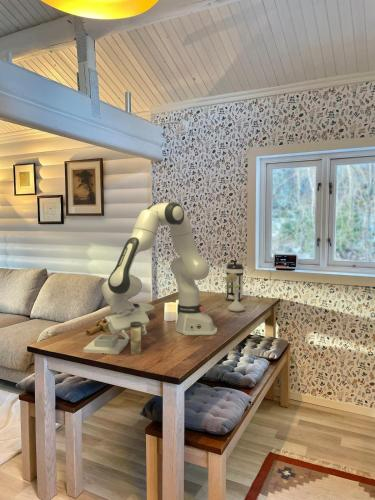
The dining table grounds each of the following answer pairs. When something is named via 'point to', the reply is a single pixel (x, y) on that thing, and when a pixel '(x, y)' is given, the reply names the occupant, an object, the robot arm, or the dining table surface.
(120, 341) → the holder
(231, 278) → the flower in vase
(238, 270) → the coffee press
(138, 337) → the peg
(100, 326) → the kendama
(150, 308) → the soup bowl
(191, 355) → the dining table surface
